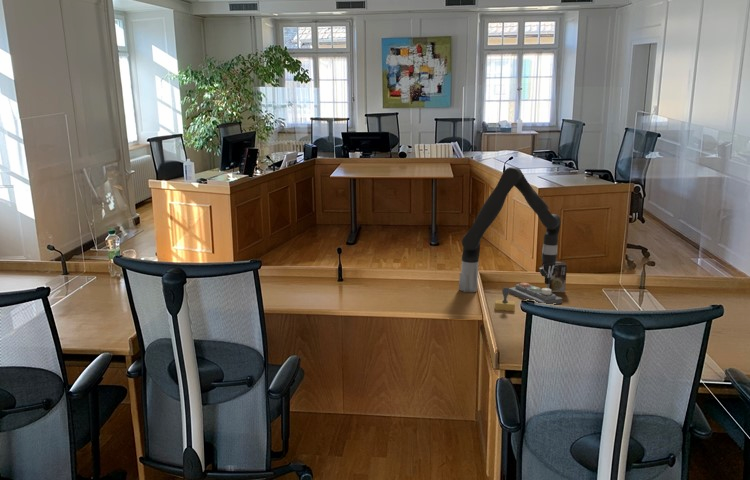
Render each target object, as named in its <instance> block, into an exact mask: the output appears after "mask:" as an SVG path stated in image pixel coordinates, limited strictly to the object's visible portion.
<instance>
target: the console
mask: <svg viewBox="0 0 750 480" xmlns="http://www.w3.org/2000/svg"><path fill="white" fill-rule="evenodd" d="M531 287H535V286H534V285H532V284H530V286H529V287H526V288H524V287H521V286H520V283H517V284H515V286H513V287H508V288H509V294H511V295H513V296H516V297H518V298H521V299H523V300H525V299H529V300H535V301H536V302H538V303H546V304H553V303H556V304H555V305H558V304H562V303H563V298H562V297H561V296H557V294H554V293H553V292H551V295H549V296H545V295H542V294H541V291H542V288H540V291H538V292H534V291H531ZM524 298H525V299H524Z"/></svg>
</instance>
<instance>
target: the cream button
mask: <svg viewBox="0 0 750 480" xmlns="http://www.w3.org/2000/svg"><path fill="white" fill-rule="evenodd" d="M541 289H542V291H541V294H542V295H545V296H549V295H551V293H552V292H551V289H549V288H547V287H543V288H541Z"/></svg>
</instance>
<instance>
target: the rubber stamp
mask: <svg viewBox="0 0 750 480" xmlns="http://www.w3.org/2000/svg"><path fill="white" fill-rule="evenodd" d="M509 288H510V287H508V286H504V287H503V288H502V291H501V294H502V295H503V299H495V302H494V310H496V311H504V310H505V312H516V311H515V307H516V301H514V300H507V298H508V296H509V294H510V293H509Z"/></svg>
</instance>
